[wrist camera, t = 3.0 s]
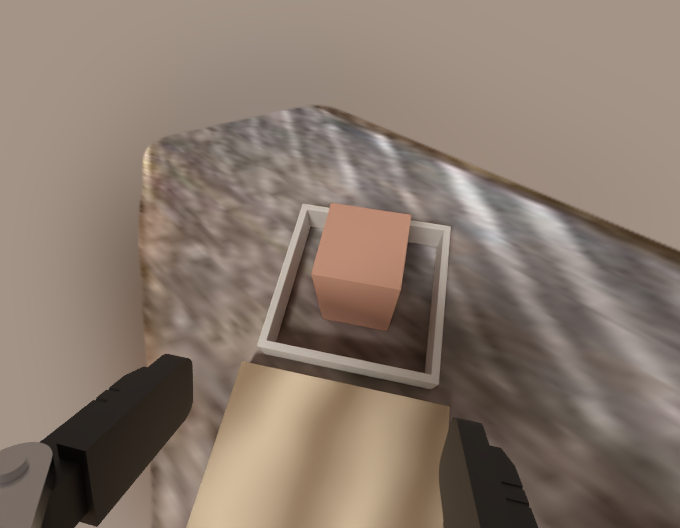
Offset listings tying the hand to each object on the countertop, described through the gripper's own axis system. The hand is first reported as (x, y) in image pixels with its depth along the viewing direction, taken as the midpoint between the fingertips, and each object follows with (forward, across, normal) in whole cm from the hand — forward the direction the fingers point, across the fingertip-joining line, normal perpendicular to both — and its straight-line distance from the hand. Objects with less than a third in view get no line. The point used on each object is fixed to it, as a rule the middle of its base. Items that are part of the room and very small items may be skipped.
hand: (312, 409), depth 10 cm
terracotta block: (+16, 0, +3) cm, 17 cm away
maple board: (+8, 0, +12) cm, 14 cm away
